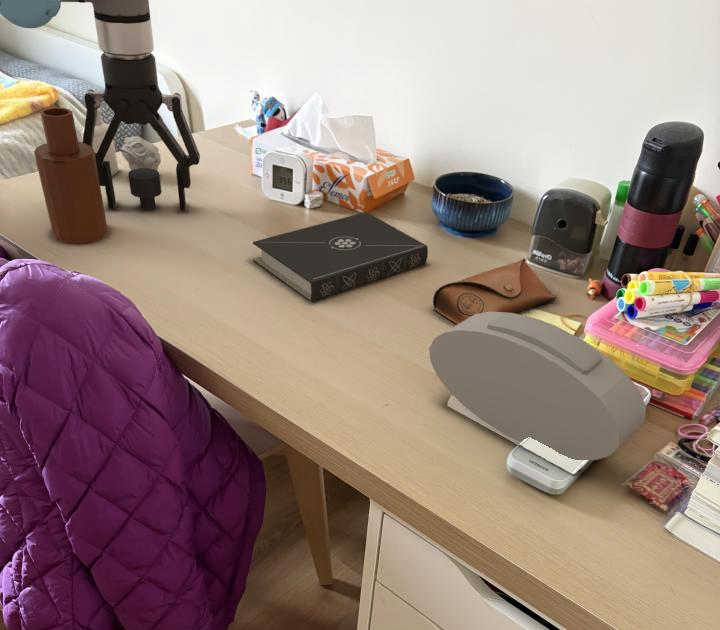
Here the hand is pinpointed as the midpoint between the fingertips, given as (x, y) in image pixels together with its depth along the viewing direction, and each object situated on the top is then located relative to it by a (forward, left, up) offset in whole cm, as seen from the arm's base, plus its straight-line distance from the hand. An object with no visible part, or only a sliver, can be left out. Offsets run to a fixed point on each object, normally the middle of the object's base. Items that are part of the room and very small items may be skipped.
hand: (148, 206), depth 117 cm
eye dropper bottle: (-9, +14, 0) cm, 17 cm away
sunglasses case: (+51, -31, 0) cm, 60 cm away
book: (+30, -19, 0) cm, 36 cm away
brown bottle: (-9, -10, 0) cm, 13 cm away
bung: (0, 0, 0) cm, 0 cm away
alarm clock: (+46, -59, 0) cm, 75 cm away
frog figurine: (-2, +13, 0) cm, 13 cm away
